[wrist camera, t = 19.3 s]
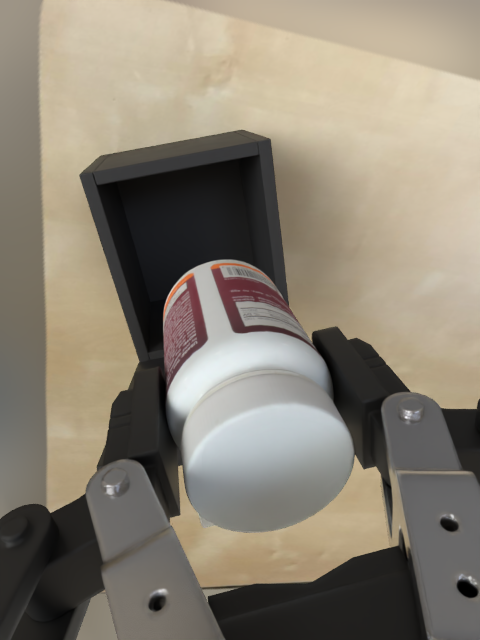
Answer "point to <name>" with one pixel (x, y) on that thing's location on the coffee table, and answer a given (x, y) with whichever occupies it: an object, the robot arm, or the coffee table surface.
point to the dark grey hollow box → (183, 219)
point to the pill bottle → (249, 402)
